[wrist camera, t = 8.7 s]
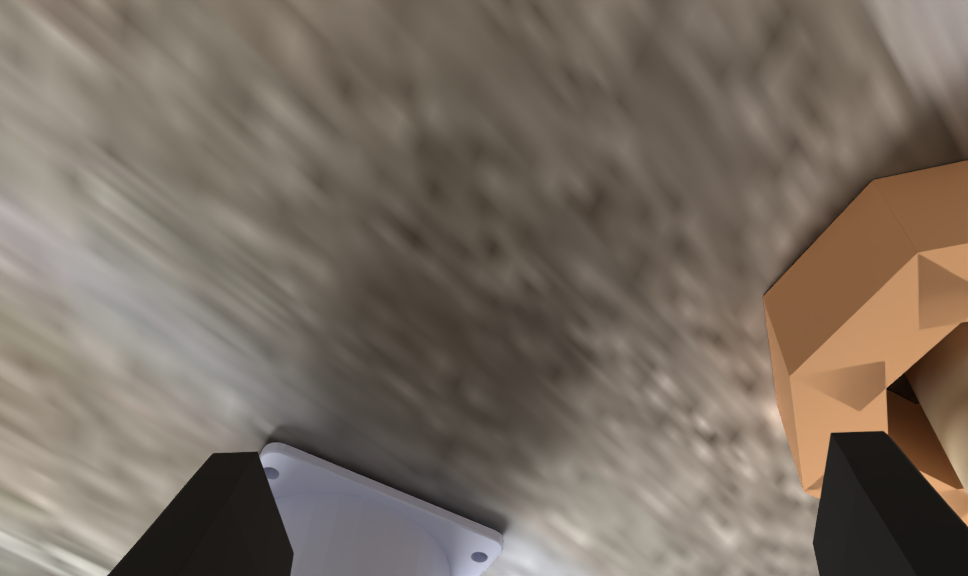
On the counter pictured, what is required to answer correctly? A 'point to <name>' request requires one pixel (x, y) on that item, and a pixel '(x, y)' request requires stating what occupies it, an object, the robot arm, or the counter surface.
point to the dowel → (946, 395)
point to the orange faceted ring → (872, 321)
